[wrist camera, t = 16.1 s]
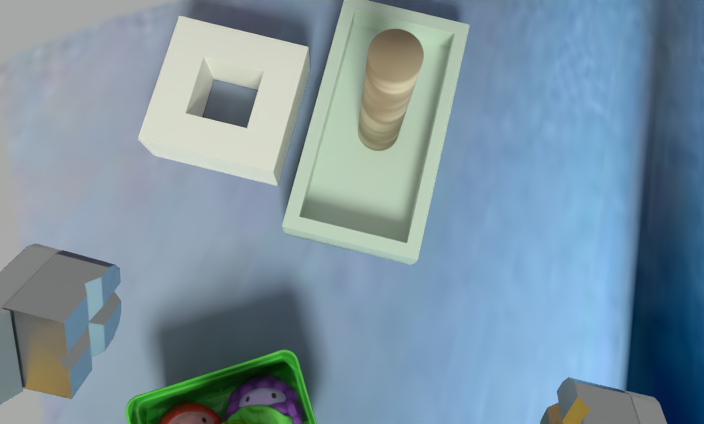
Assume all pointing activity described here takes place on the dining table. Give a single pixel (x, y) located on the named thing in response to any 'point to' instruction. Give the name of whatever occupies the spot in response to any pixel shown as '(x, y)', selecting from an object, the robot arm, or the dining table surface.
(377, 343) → the dining table surface
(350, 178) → the tray
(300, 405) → the fruit basket
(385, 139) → the dowel
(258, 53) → the socket block
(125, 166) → the dining table surface
